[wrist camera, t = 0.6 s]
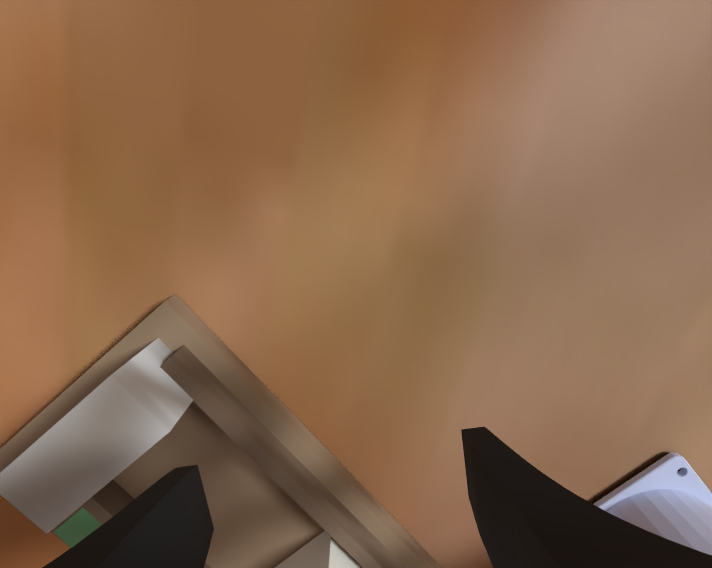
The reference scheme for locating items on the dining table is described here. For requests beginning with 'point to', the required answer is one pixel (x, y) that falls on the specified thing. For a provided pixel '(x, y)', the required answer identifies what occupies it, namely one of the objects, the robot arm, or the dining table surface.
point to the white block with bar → (320, 555)
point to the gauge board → (193, 454)
